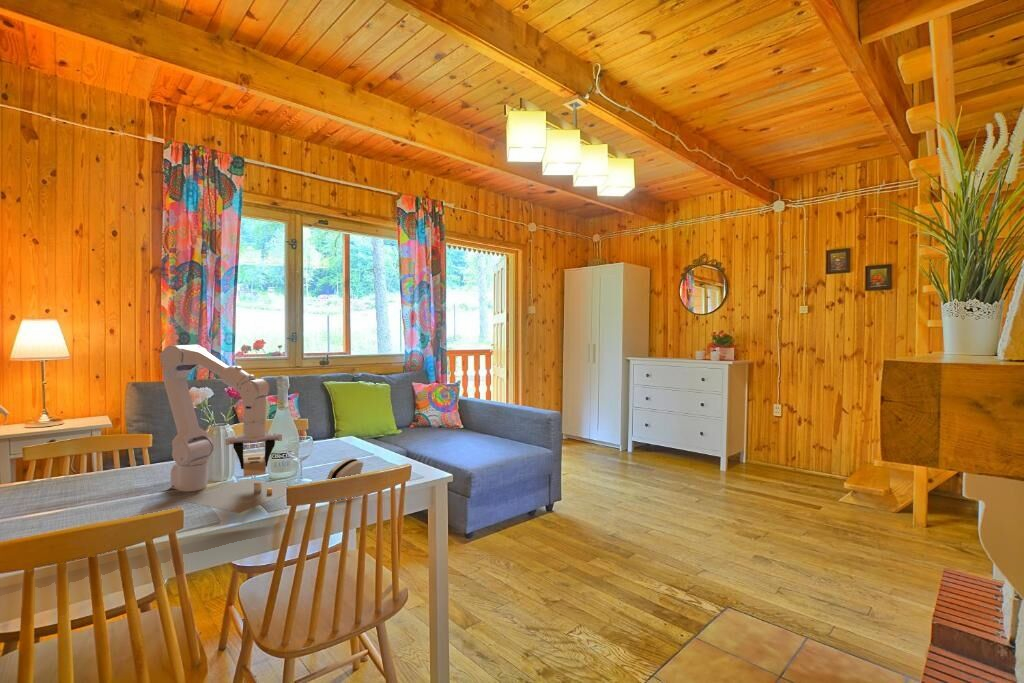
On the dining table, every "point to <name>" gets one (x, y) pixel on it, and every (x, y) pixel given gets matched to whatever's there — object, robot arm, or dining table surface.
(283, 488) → the board
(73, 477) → the dining table surface
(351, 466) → the tan half-round piece
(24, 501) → the dining table surface
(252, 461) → the tan block
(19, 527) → the dining table surface
